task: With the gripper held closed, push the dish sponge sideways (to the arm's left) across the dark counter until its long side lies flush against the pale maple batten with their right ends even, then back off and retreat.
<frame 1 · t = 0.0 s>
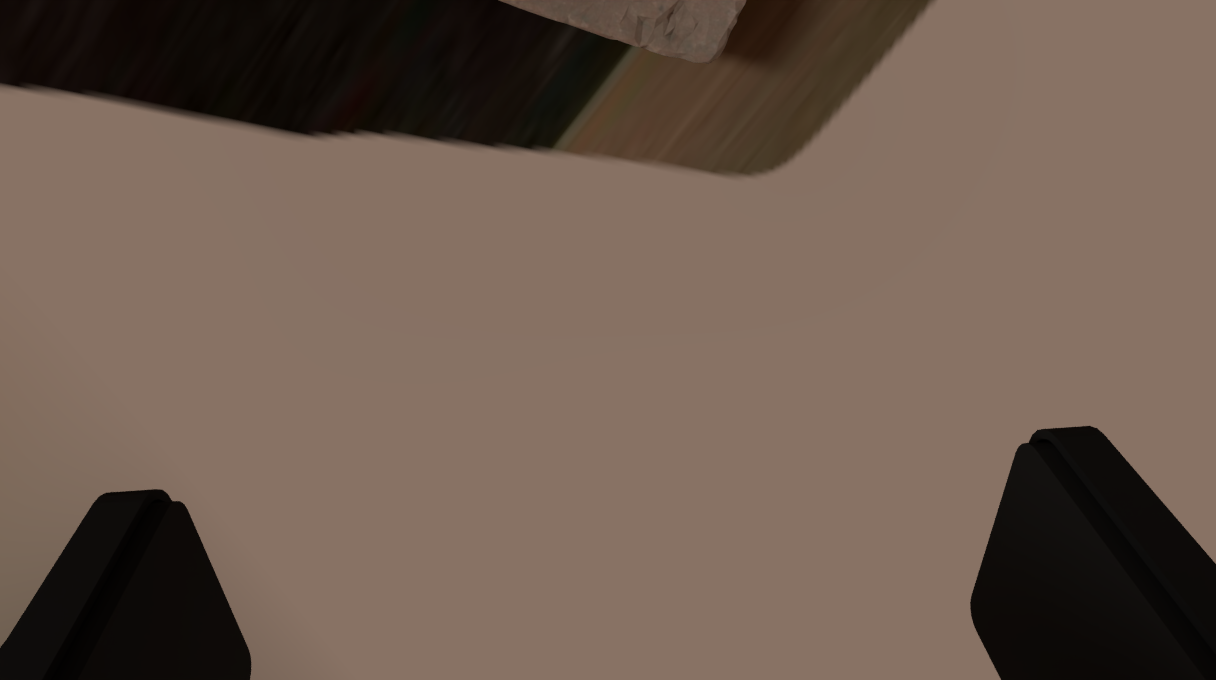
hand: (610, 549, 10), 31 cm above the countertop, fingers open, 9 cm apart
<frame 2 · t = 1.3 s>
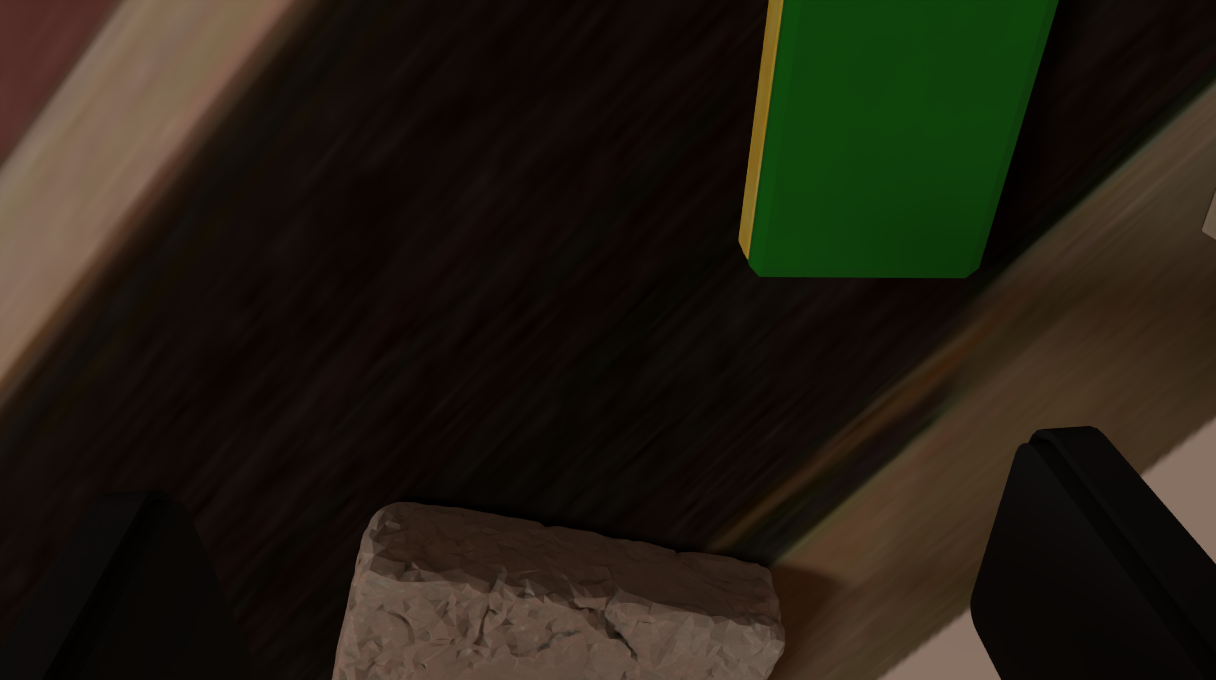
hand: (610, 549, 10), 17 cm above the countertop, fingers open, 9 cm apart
brick: (560, 586, 35), on the countertop
dish sponge: (882, 23, 24), on the countertop
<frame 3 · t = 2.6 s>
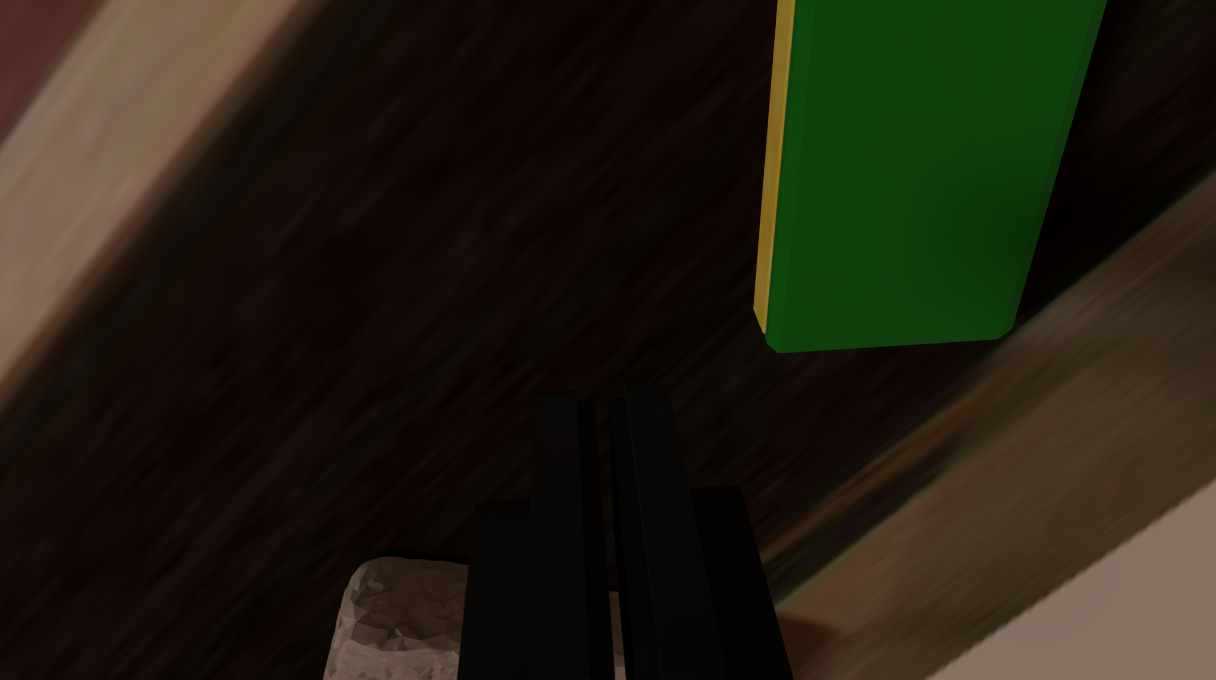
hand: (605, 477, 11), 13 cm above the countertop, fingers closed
brick: (548, 633, 34), on the countertop
dish sponge: (897, 79, 22), on the countertop
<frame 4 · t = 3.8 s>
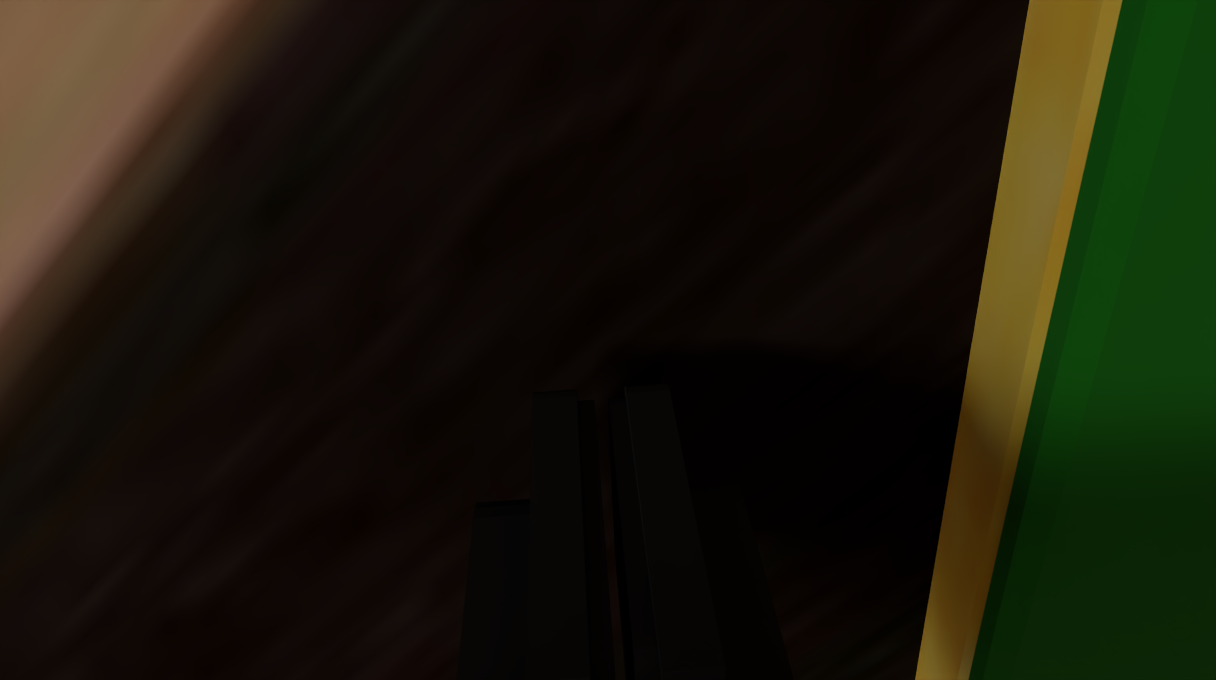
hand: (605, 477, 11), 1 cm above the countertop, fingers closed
dish sponge: (1184, 352, 12), on the countertop
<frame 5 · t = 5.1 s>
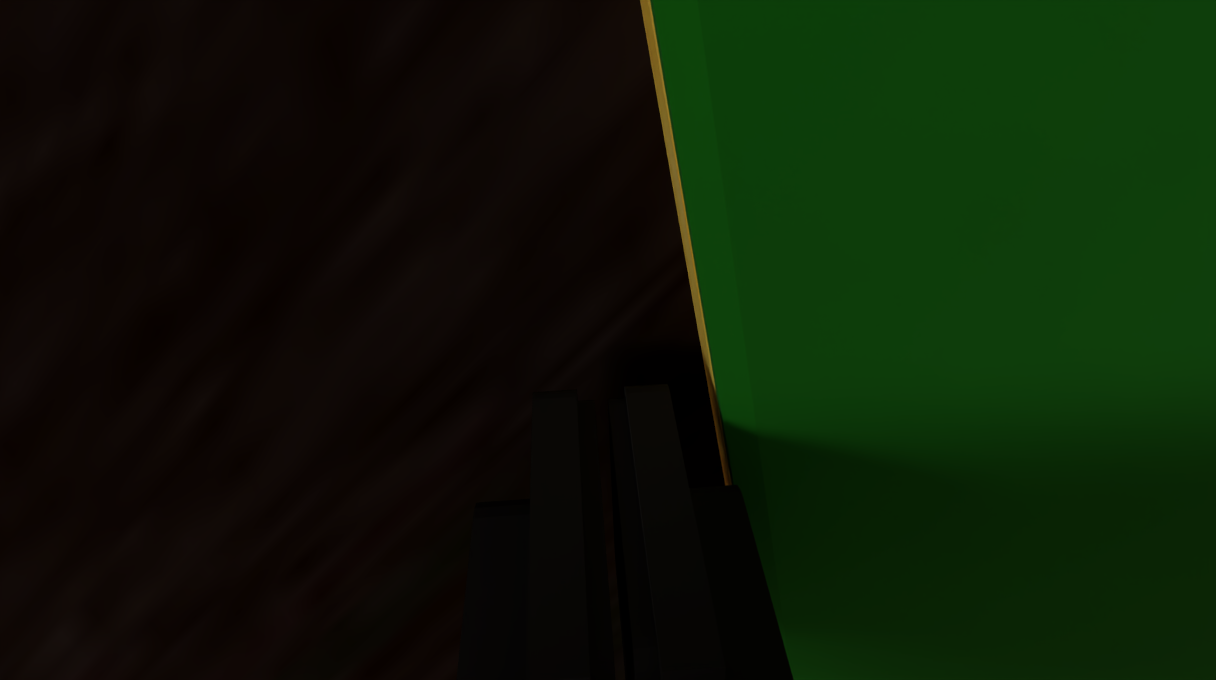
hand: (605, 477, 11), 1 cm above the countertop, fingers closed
dish sponge: (949, 332, 12), on the countertop
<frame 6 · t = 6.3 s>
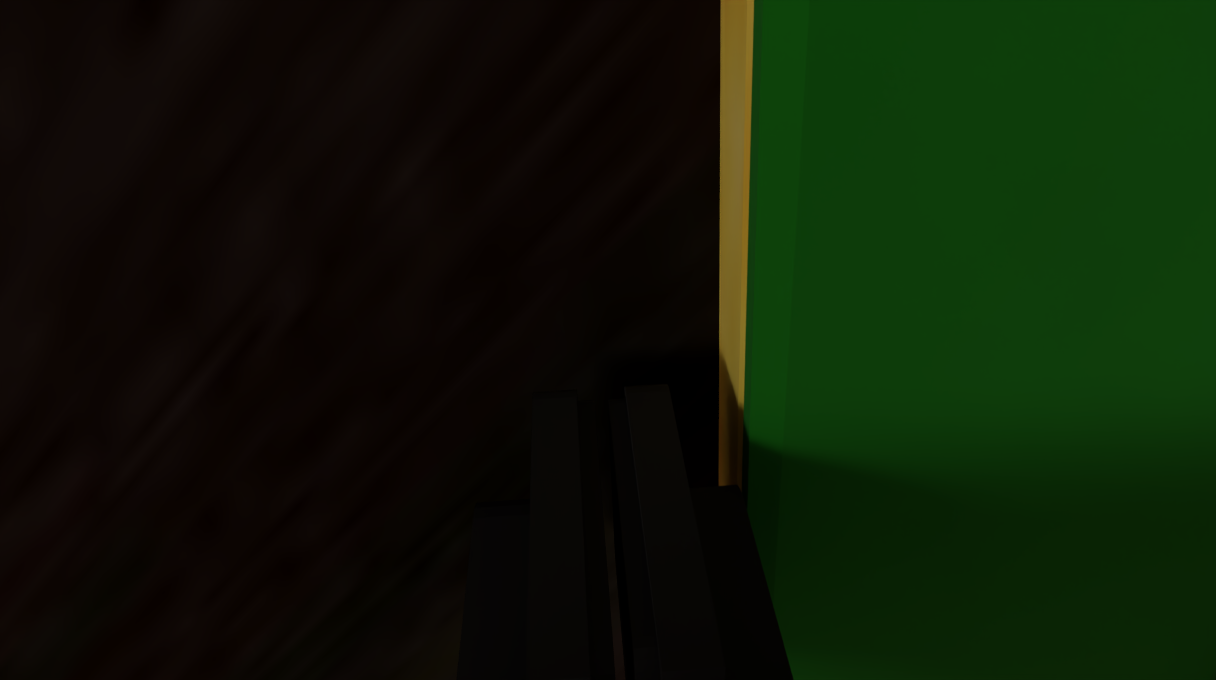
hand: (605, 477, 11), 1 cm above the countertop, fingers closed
dish sponge: (963, 343, 12), on the countertop, touching gripper
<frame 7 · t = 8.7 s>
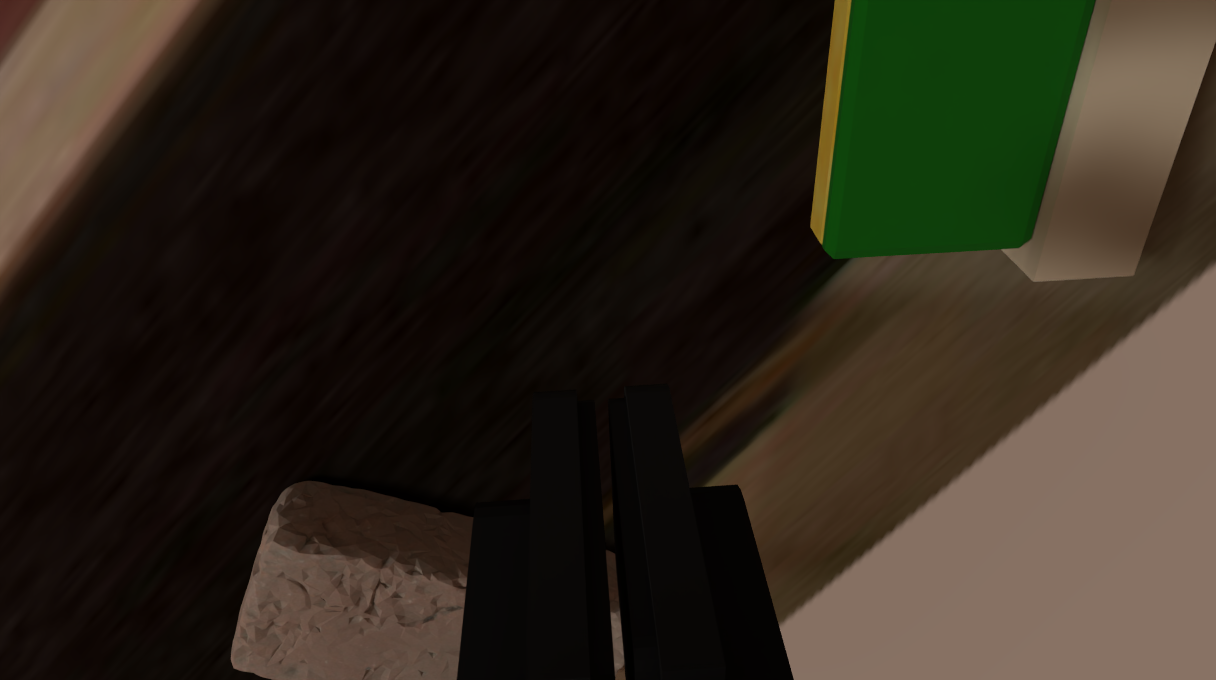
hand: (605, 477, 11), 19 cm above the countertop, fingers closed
brick: (453, 566, 39), on the countertop
dish sponge: (934, 26, 27), on the countertop
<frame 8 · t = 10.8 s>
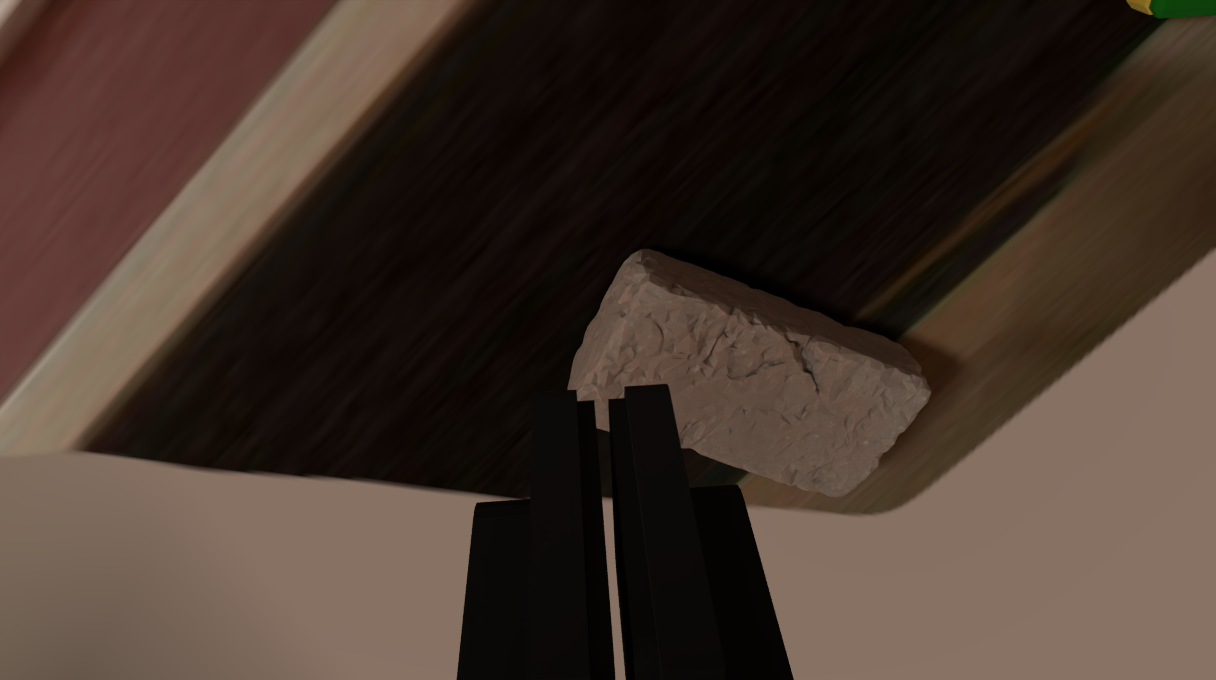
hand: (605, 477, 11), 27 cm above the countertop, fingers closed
brick: (740, 350, 44), on the countertop
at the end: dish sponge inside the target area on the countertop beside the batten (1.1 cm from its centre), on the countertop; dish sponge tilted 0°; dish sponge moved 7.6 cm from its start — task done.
